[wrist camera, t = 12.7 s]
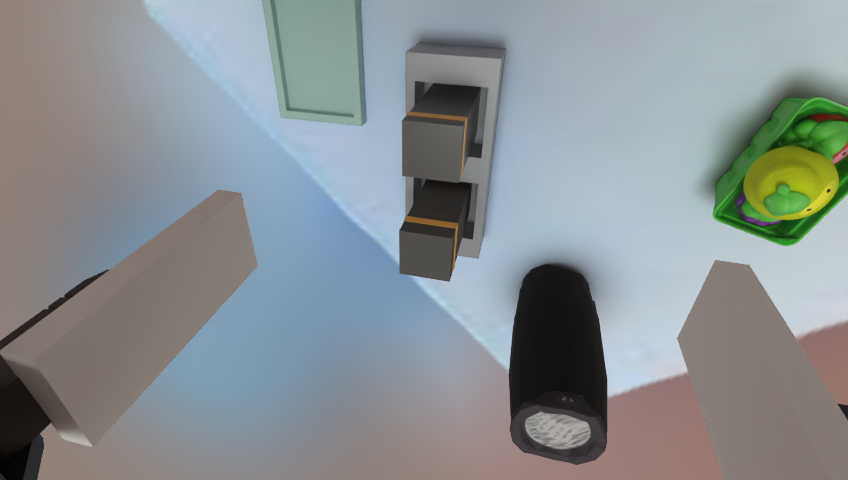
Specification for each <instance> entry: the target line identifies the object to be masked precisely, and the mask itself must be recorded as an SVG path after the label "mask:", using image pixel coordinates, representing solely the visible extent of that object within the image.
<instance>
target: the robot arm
mask: <svg viewBox="0 0 848 480" xmlns="http://www.w3.org/2000/svg"><path fill="white" fill-rule="evenodd" d="M257 266H258V265H257V260H256V256H255V252H254V247H253V243H252V238H251V234H250V230H249V225H248V221H247V217H246V212H245V208H244V204H243V199H242V195H241V193H237V192H230V191H223V190H217V191H216V192H215V193H213V194H212V195H211V196H209V197H208V198H207V199H205V200H204V201H203V202H201V203H200V204H199V205H197V206H196V207H194V208H193V209H192V210H190V211H189V212H188V213H186V214H185V215H184V216H182V217H181V218H179V219H178V220H177V221H175V222H174V223H173V224H171V225H170V226H169V227H167V228H166V229H164V230H163V231H162V232H160V233H159V234H158V235H156V236H155V237H154V238H152V239H151V240H149V241H148V242H147V243H146V244H144V245H143V246H141V247H140V248H139V249H137V250H136V251H135V252H133V253H132V254H130V255H129V256H128V257H126V258H125V259H124V260H122V261H121V262H120V263H118V264H117V265H115V266H114V267H113V268H111V269H110V270H106V271H104V272H102V273H99V274H97V275H95V276H93V277H91V278H89V279H86V280H84V281H83V282H81V283H80V284H79V285H77V286H76V287H75V288H73V289H72V290H70V291H69V292H68V293H66V294H65V297H64V298H59V299H58V300H57V301H55V302H54V303H52V304H51V305H50V306H49V308H48V309H47V310H46V309H44V310H42V311H41V312H40V313H38V314H37V315H36V316H34V317H33V318H31V319H30V320H29V321H27V322H26V323H24V324H23V325H22V326H20V327H19V328H17V329H16V330H15V331H13V332H12V333H10V334H9V335H8V336H6V337H5V338H4V339H2V340H1V341H0V480H37V477H38V473H39V468H40V463H41V458H42V453H43V449H44V443H43V437H42V436H41V435H40V433H41V432H42V431H43V430H44V429H45V428H46V427H47V426H48V425H49V424H50V423H52V425H53V426H54V427H55V429H56V430H57V431H58V433H59V434H60V435H61V437H62V438H63V439H64V440H68V441H72V442H75V443H79V444H83V445H87V446H90V447H94V446H95V444H96V443H97V442H98V441H99V440H100V439H101V438H102V437H103V436H104V435H105V433H106V432H107V431H108V430H109V429H110V428H111V427H112V426H113V425H114V424H115V423H116V421H117V420H118V419H119V418H120V417H121V416H122V415H123V414H124V413H125V411H126V410H127V409H128V408H129V407H130V406H131V405H132V404H133V403H134V402H135V400H136V399H137V398H138V397H139V396H140V395H141V394H142V393H143V392H144V391H145V390H146V388H147V387H148V386H149V385H150V384H151V383H152V382H153V381H154V380H155V378H156V377H157V376H158V375H159V374H160V373H161V372H162V371H163V370H164V369H165V368H166V366H167V365H168V364H169V363H170V362H171V361H172V360H173V359H174V358H175V357H176V355H177V354H178V353H179V352H180V351H181V350H182V349H183V348H184V347H185V346H186V344H187V343H188V342H189V341H190V340H191V339H192V338H193V337H194V336H195V334H196V333H197V332H198V331H199V330H200V329H201V328H202V327H203V326H204V325H205V323H206V322H207V321H208V320H209V319H210V318H211V317H212V316H213V315H214V314H215V313H216V311H217V310H218V309H219V308H220V307H221V306H222V305H223V304H224V303H225V301H226V300H227V299H228V298H229V297H230V296H231V295H232V294H233V293H234V292H235V291H236V289H237V288H238V287H239V286H240V285H241V284H242V283H243V282H244V281H245V280H246V278H247V277H248V276H249V275H250V274H251V273H252V272H253V271H254V270H255V269H256V268H257ZM677 339H678V342H679V345H680V348H681V351H682V354H683V357H684V360H685V363H686V366H687V369H688V372H689V375H690V378H691V381H692V384H693V387H694V390H695V393H696V396H697V399H698V402H699V405H700V408H701V411H702V414H703V417H704V420H705V423H706V426H707V429H708V432H709V435H710V438H711V441H712V444H713V447H714V450H715V453H716V456H717V459H718V462H719V465H720V468H721V471H722V474H723V477H724V480H848V406H847V405H842V404H837V403H836V401H835V400H834V398H833V396H832V395H831V393H830V392H829V390H828V388H827V387H826V385H825V384H824V382H823V381H822V379H821V377H820V376H819V374H818V373H817V371H816V370H815V368H814V366H813V365H812V363H811V362H810V360H809V359H808V357H807V355H806V354H805V353H804V351H803V349H802V348H801V346H800V344H799V343H798V341H797V340H796V338H795V336H794V335H793V333H792V332H791V330H790V329H789V327H788V325H787V324H786V322H785V321H784V319H783V318H782V316H781V314H780V313H779V311H778V310H777V308H776V307H775V305H774V303H773V302H772V300H771V299H770V297H769V296H768V294H767V292H766V291H765V289H764V288H763V286H762V285H761V283H760V281H759V280H758V278H757V277H756V275H755V274H754V272H753V270H752V269H751V267H750V266H749V265H746V264H739V263H732V262H725V261H718V260H715V262H714V264H713V266H712V268H711V270H710V272H709V274H708V276H707V278H706V280H705V282H704V284H703V286H702V288H701V290H700V293H699V295H698V297H697V299H696V301H695V303H694V305H693V307H692V309H691V311H690V313H689V315H688V317H687V319H686V321H685V323H684V325H683V328H682V330H681V332H680V334H679V336H678V338H677Z"/></svg>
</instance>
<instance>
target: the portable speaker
mask: <svg viewBox="0 0 848 480" xmlns="http://www.w3.org/2000/svg"><path fill="white" fill-rule="evenodd" d="M593 302H594V303H593ZM509 388H510V411H511V426H510V432H511V437H512V441H513V443H514V444H515V445H517V446H518V447H519V448H520V449H521V450H522V451H523V452H524V453H530V454H535V455H538V456H542V457H545V458H550V459H553V460H559V461H564V462H569V463H572V464H576V465H578V464H582V463H586V462H590V461H594V460H596V459H597V458H598V457H599V456H600V455H601V454H602V453H603V452H604V451H605V448H606V444H607V375H606V368H605V361H604V353H603V346H602V339H601V331H600V324H599V318H598V315H597V311H596V306H595V301H593V300H592V297H591V294H590V290H589V285H588V283H587V282H586V280H585V279H584V277H583V276H582V275H581V276H580V275H578V274H576V273H574V272H572V271H569V270H564V269H559V268H556V267H552V266H549V265H546V264H545V265H543V266H540V267H538V268H535V269H532V270H531V271H530V272H529V274H528V275H527V276H526V277H525V278H524V280H523V284H522V287H521V289H520V293H519V299H518V304H517V310H516V315H515V318H514V326H513V334H512V345H511V356H510V368H509Z"/></svg>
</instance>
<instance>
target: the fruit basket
mask: <svg viewBox="0 0 848 480" xmlns="http://www.w3.org/2000/svg"><path fill="white" fill-rule="evenodd" d="M847 194H848V107H847V106H844V105H841V104H839V103H836V102H834V101H831V100H829V99H826V98H823V97H813V98H808V99H805V98H785V99H784V100H783V101H782V102H781V104H780V105H779V106H778V107H777V109H776V110H775V111H774V113H773V114H772V117H771V120H769V121H768V122H767V123H765V124H764V125H763V126H762V127H761V129H760V130H759V131H758V132H757V134H756V135H755V136H754V137H753V139H752V141H751V143H750V146H748V147H747V148H745V149H744V150H743V151H742V152H741V154H740V155H739V156H738V157H737V159H736V160H735V161H734V162H733V164H732V167H731V170H729V171H727V172H726V173H725V174H724V175H723V176H722V177H721V179H720V180H719V181H718V182H717V184H716V193H715V206H714V210H713V217H714V219H715V220H717V221H719V222H721V223H724V224H728V225H730V226H732V227H734V228H737V229H740V230H742V231H745V232H747V233H750V234H753V235H755V236H758V237H761V238H764V239H766V240H768V241H771V242H773V243H777V244H779V245H783V246H790V245H793V244H796V243H797V242H799V241H800V240H801V239H802V238H803V237H804V236H805V235H806V234H807V233H808V232H809V231H810V230H811V229H812V228H813V227H814V226H815V225H816V224H817V223H818V222H820V220H821V219H822V218H823V217H824V216H825V215H826V214H828V213H829V212H830V211H831V209H833V208H834V207H835V206H836V205H837V204H838V203H839V202H840V201H841V200H842V199H843V198H844V197H845V196H846V195H847Z"/></svg>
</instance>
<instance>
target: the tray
mask: <svg viewBox="0 0 848 480" xmlns="http://www.w3.org/2000/svg"><path fill="white" fill-rule="evenodd" d="M262 2H263V8H264V15H265V21H266V27H267V34H268V40H269V46H270V53H271V59H272V65H273V72H274V78H275V84H276V91H277V97H278V103H279V110H280V116H281V118H290V119H299V120H309V121H318V122H328V123H337V124H346V125H356V126H362V125H363V124H364V123H365V122H366V109H365V88H364V68H363V48H362V27H361V7H360V0H262Z"/></svg>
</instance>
